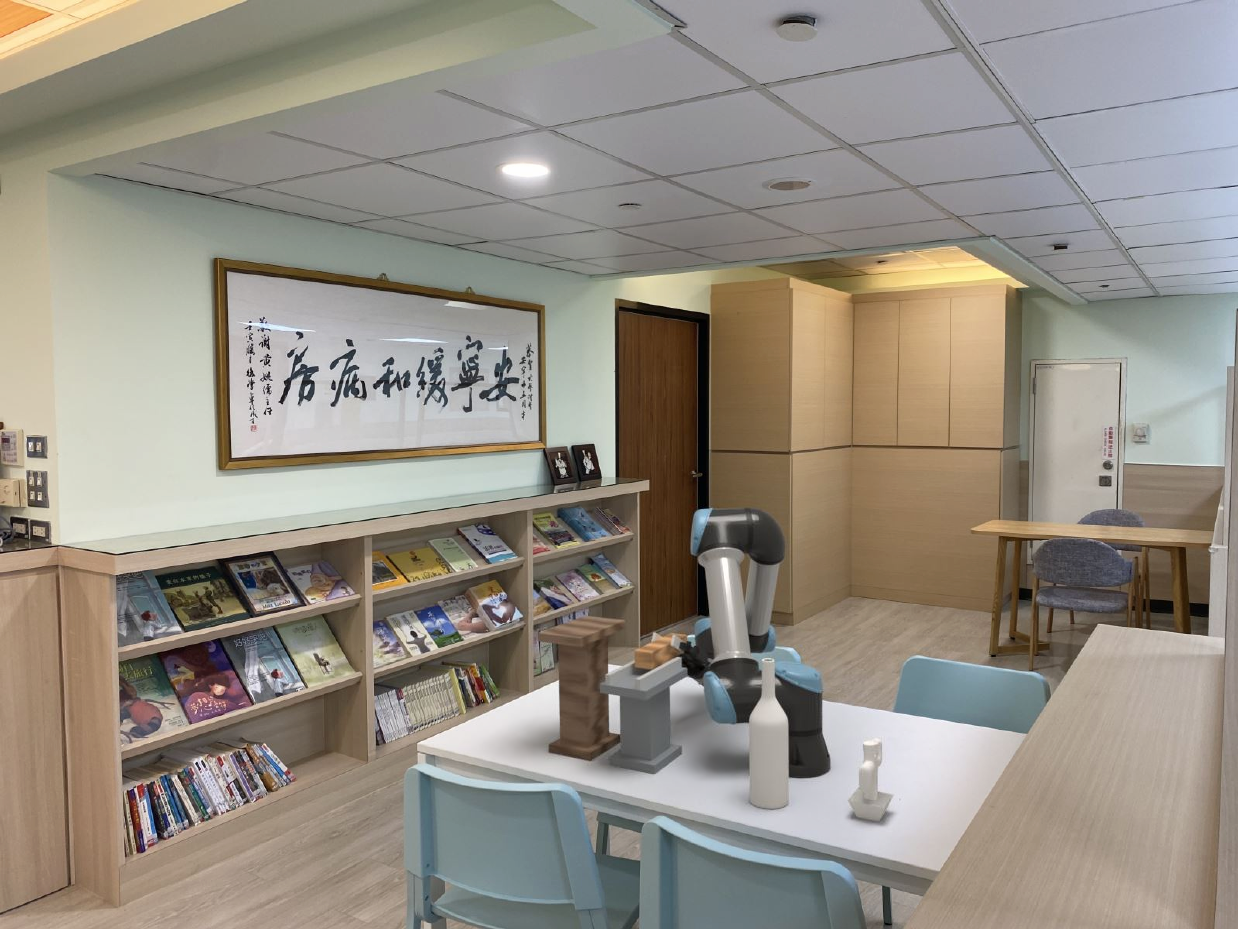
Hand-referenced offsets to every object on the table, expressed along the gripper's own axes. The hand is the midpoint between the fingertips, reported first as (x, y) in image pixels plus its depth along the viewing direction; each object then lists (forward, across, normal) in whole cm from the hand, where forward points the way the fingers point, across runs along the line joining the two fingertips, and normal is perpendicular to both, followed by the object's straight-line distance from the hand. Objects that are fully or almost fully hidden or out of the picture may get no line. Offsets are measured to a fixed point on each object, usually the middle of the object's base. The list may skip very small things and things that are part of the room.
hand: (663, 639), depth 222 cm
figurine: (0, -54, -31) cm, 62 cm away
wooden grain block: (-2, 0, -4) cm, 5 cm away
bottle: (+3, -34, -32) cm, 47 cm away
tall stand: (-5, +17, -28) cm, 33 cm away
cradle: (-5, 0, -28) cm, 28 cm away
